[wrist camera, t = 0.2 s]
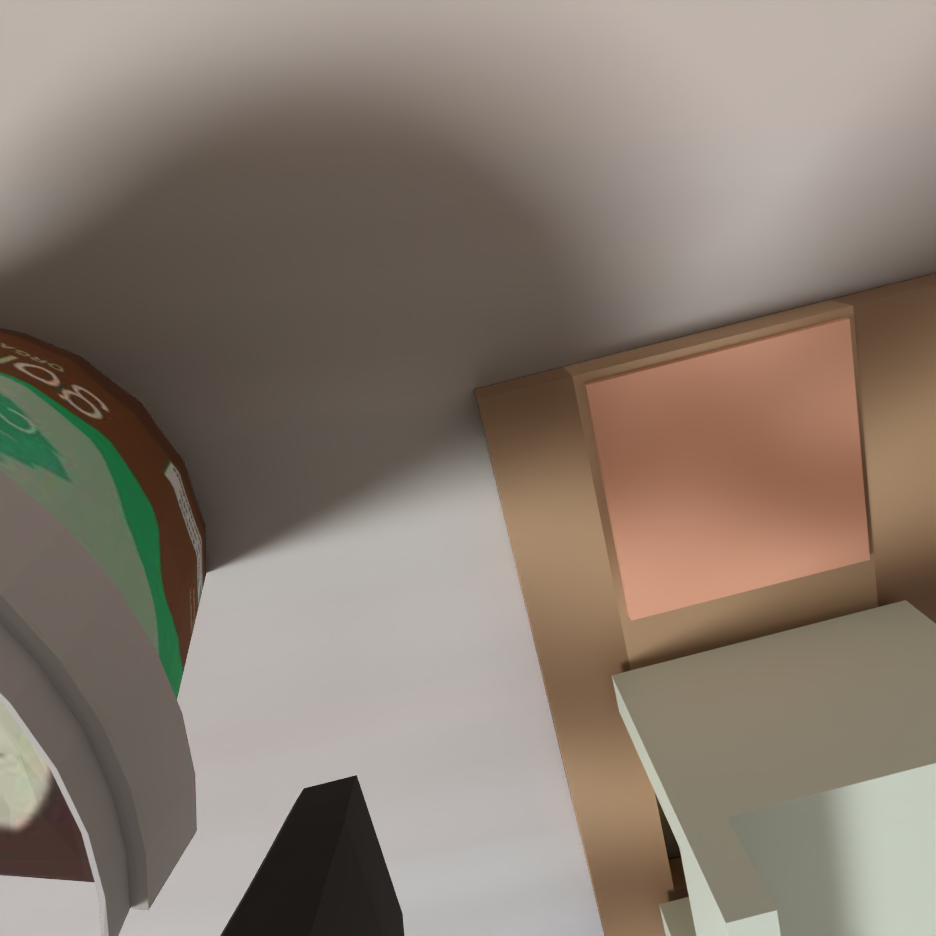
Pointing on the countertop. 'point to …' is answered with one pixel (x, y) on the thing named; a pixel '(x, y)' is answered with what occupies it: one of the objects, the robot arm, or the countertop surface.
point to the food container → (92, 631)
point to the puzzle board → (709, 524)
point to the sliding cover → (798, 777)
